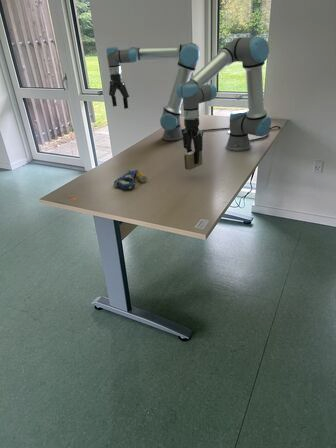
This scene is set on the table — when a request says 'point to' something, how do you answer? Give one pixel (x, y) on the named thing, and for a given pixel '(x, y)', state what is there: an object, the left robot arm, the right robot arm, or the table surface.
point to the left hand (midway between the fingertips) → (120, 107)
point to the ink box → (192, 160)
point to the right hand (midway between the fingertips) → (193, 162)
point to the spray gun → (129, 179)
